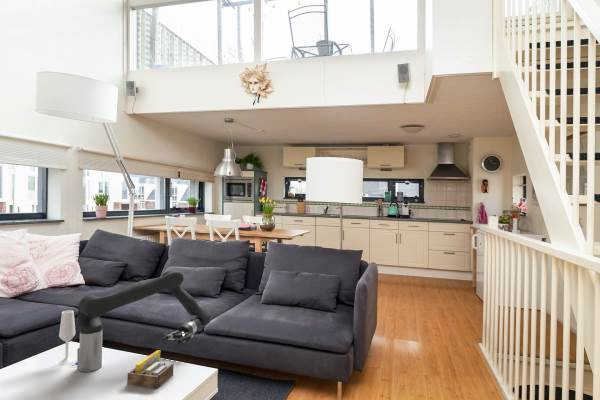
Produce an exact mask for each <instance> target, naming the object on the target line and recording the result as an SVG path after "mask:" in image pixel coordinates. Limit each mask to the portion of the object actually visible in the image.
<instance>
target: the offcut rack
mask: <svg viewBox="0 0 600 400" xmlns="http://www.w3.org/2000/svg"><path fill="white" fill-rule="evenodd" d="M155 363H156V362H155ZM152 365H153V364H152ZM162 365H164V366H166V362H162V364H161V365H160V366H159V367H157V368H156V369H155V370H153V371H152V372H151V373H149V375H147V374H146V369H145V370H144V371H142V372H141V373H140V374H139V373H135V370H136V367H135V368H133V369H131V370H130V371H129V372H127V383H126V385H127V386H131V387H137V388H138V387H139V388H140V387H141V388H148V389H153V390H158V389H159V388H160V387H162V386H163V385H164V384H165V383H166V382H167V381H168V380H170V378H172V377H173V376H174V363H171V364H169V365H168V366H167V368H166V369H164V370H163V371H162V372H161V373H159V374H158V375H157V376H155V375H153V372H155V371H156V370H157V369H159V368H160V367H161V366H162ZM149 367H150V366H149ZM149 367H148V368H149Z"/></svg>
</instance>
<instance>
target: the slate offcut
mask: <svg viewBox="0 0 600 400" xmlns="http://www.w3.org/2000/svg"><path fill="white" fill-rule="evenodd" d="M167 367H168V366H167V365H165V366H164V365H162V366H161V367H160V368H159V369H157V370H156V371H155V372H153V375H155V376H157V375H158V374H159V373H161V372H162V371H163V370H164V369H166V368H167Z"/></svg>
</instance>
